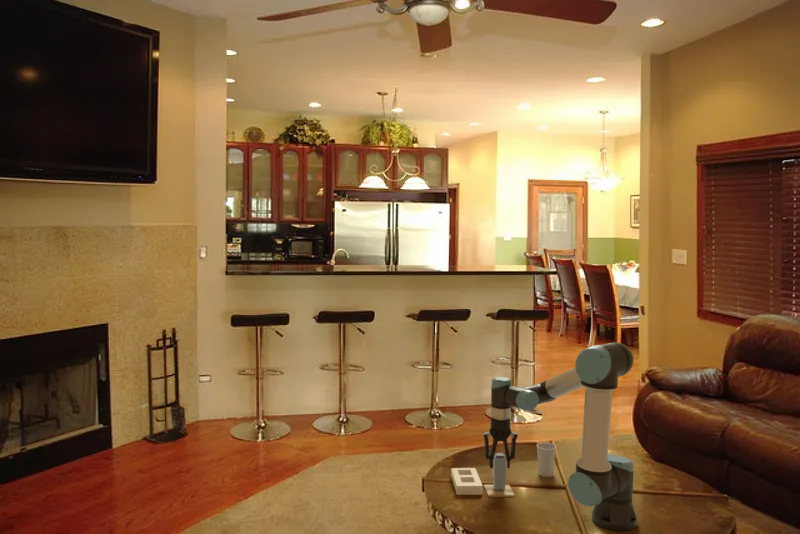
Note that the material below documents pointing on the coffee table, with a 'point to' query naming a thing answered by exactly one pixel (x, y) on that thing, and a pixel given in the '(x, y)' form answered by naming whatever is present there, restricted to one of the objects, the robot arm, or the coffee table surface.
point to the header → (466, 481)
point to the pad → (499, 491)
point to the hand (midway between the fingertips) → (499, 475)
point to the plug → (499, 471)
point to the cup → (546, 459)
